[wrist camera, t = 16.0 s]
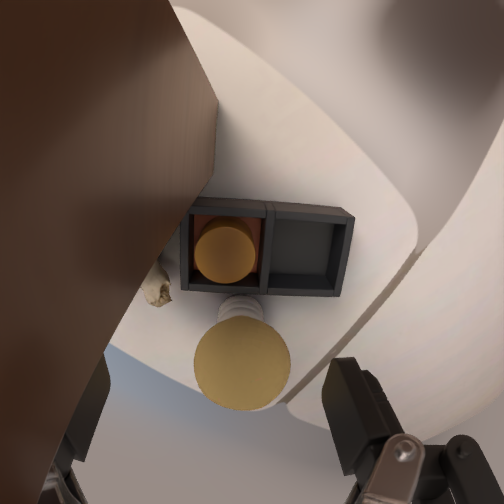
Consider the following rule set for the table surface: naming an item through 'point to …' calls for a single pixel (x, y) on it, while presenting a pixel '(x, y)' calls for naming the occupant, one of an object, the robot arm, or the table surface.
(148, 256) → the block
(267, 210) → the dark grey open box
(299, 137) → the table surface
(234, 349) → the light bulb
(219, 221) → the cylinder
